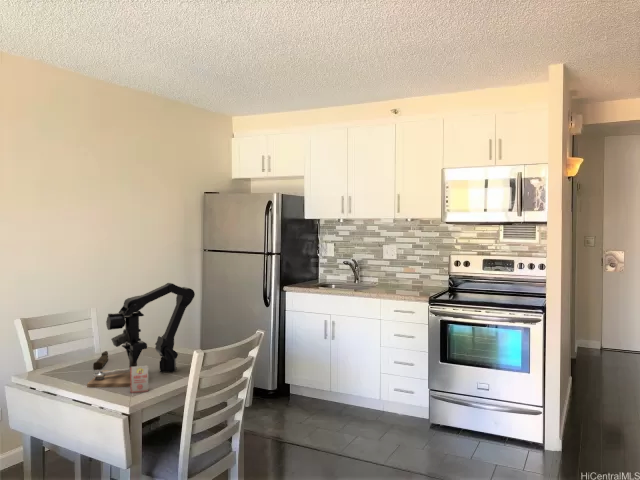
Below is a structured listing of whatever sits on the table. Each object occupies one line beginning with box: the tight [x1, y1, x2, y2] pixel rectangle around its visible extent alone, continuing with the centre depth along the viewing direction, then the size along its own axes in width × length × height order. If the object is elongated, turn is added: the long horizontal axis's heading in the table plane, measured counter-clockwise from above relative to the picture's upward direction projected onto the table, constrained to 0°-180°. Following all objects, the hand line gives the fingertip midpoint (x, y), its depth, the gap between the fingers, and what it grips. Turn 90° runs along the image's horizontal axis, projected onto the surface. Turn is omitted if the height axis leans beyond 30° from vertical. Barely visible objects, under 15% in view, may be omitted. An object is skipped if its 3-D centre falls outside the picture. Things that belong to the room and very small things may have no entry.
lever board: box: [86, 369, 131, 388], centre depth 231 cm, size 20×19×3 cm
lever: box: [93, 352, 138, 378], centre depth 230 cm, size 18×4×8 cm, turn 125°
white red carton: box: [129, 365, 149, 394], centre depth 217 cm, size 4×7×10 cm, turn 108°
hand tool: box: [92, 350, 109, 371], centre depth 255 cm, size 19×4×5 cm, turn 7°
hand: (132, 362), depth 235 cm, fingers open, 4 cm apart
